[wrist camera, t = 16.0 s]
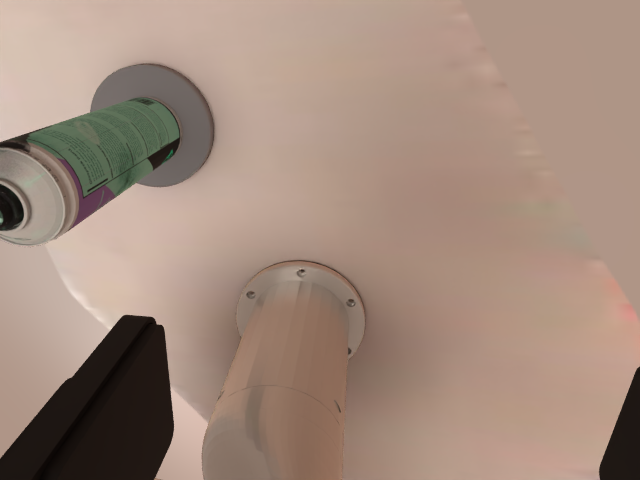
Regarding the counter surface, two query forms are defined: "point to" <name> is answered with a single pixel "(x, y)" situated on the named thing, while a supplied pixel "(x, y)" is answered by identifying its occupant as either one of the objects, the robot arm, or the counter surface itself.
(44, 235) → the spray can
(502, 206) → the counter surface
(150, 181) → the mat
